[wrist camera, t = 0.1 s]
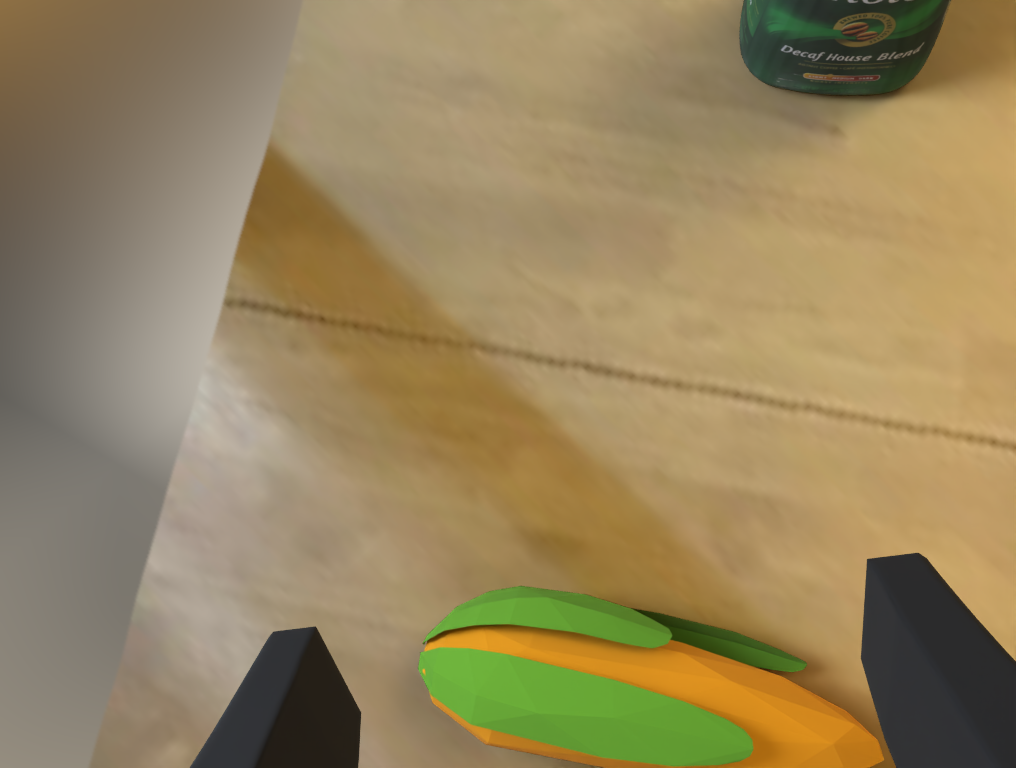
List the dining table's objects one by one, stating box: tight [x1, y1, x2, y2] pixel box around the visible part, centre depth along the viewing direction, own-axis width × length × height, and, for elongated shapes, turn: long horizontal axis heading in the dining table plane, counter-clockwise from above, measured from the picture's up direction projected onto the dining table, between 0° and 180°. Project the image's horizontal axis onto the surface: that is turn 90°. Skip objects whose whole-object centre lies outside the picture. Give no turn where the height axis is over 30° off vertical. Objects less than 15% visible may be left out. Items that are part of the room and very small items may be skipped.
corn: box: [418, 586, 884, 768], centre depth 38 cm, size 7×8×20 cm
